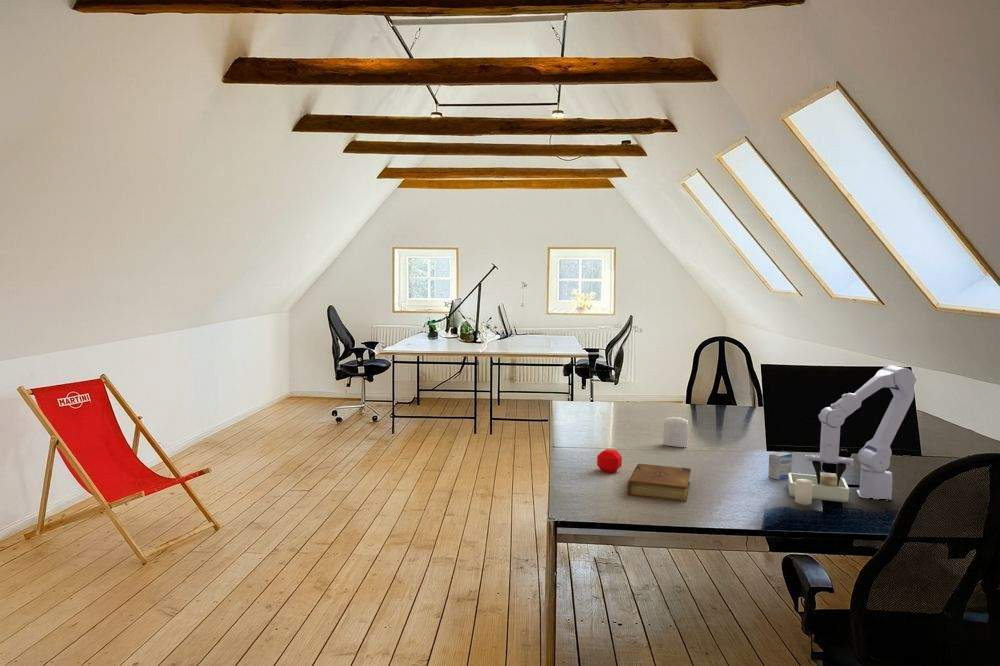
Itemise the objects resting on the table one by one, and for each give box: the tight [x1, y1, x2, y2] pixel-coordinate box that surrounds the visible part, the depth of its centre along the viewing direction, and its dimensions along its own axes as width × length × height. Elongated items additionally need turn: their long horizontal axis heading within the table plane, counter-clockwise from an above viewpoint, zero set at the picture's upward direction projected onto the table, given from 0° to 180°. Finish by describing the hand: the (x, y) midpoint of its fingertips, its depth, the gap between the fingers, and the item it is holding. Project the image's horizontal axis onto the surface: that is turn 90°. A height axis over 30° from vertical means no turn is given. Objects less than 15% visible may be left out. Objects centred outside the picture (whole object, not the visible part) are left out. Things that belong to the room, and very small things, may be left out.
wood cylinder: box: [794, 479, 813, 506], centre depth 236 cm, size 5×5×7 cm
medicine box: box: [767, 451, 793, 481], centre depth 265 cm, size 8×4×9 cm, turn 126°
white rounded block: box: [662, 416, 690, 449], centre depth 311 cm, size 10×4×12 cm, turn 67°
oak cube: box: [819, 471, 837, 487], centre depth 244 cm, size 5×5×5 cm
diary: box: [626, 463, 692, 503], centre depth 248 cm, size 23×19×6 cm
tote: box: [787, 472, 850, 503], centre depth 246 cm, size 18×14×4 cm
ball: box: [596, 448, 623, 474], centre depth 269 cm, size 8×8×8 cm
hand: (827, 484), depth 244 cm, fingers closed on oak cube, 5 cm apart
